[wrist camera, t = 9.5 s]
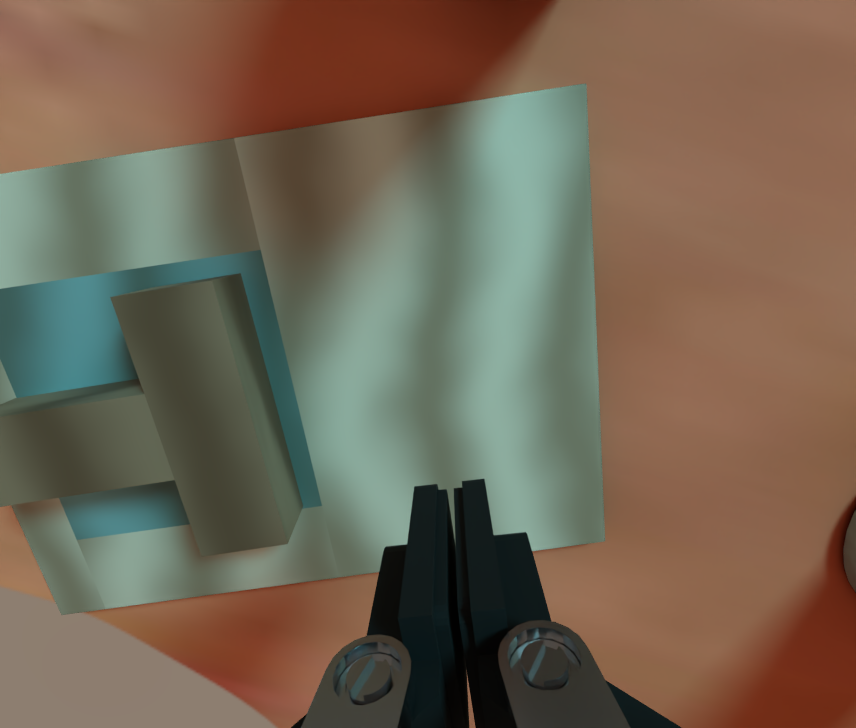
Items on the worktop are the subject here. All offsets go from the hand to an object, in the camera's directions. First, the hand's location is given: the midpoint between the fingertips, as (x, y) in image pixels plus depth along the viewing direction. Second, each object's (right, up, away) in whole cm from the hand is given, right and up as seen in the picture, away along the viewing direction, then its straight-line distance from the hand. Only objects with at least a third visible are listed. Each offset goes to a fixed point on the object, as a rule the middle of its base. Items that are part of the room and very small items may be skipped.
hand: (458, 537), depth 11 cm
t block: (-14, +2, +12) cm, 18 cm away
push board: (-8, +3, +12) cm, 15 cm away
